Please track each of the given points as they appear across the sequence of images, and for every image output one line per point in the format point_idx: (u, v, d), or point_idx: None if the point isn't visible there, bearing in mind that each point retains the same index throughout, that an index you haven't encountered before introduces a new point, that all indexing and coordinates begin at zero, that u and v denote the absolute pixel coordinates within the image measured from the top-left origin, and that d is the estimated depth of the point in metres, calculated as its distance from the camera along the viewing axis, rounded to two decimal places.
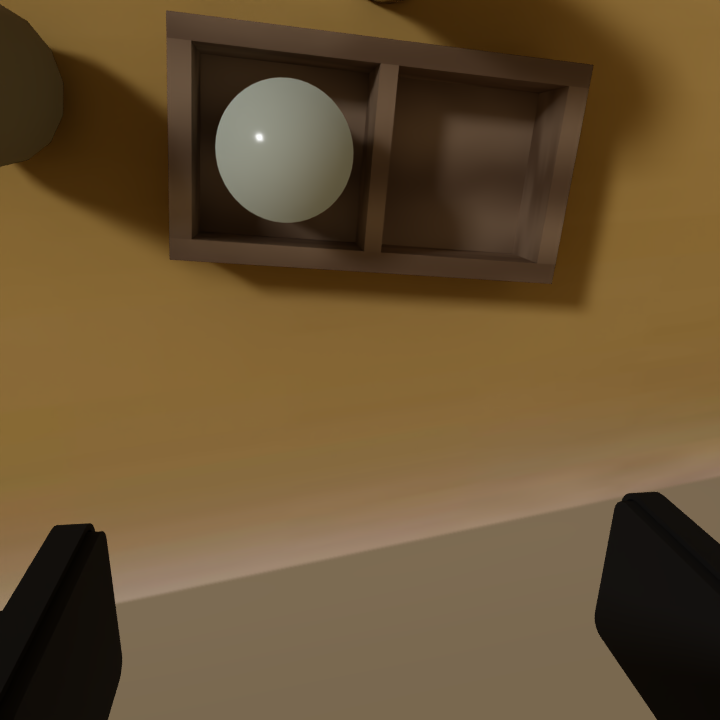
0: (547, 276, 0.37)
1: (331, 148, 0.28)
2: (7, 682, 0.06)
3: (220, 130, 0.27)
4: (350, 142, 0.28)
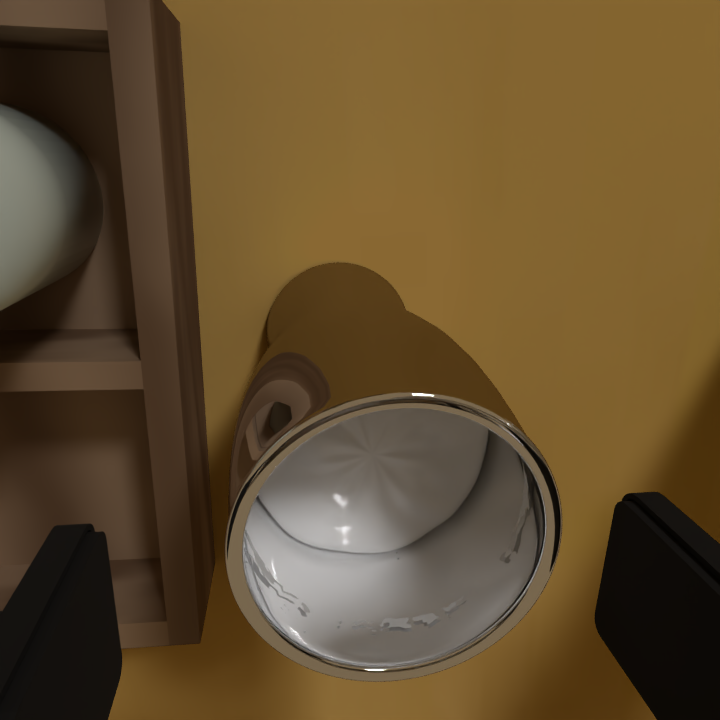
0: None
1: None
2: (7, 682, 0.06)
3: None
4: None
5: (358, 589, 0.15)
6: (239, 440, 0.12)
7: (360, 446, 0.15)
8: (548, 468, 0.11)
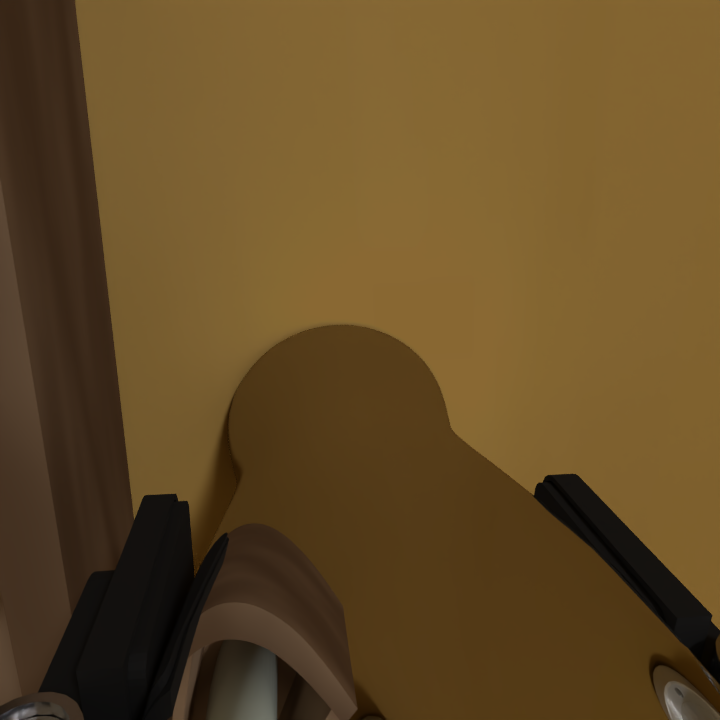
0: None
1: None
2: (135, 620, 0.07)
3: None
4: None
5: None
6: None
7: None
8: None
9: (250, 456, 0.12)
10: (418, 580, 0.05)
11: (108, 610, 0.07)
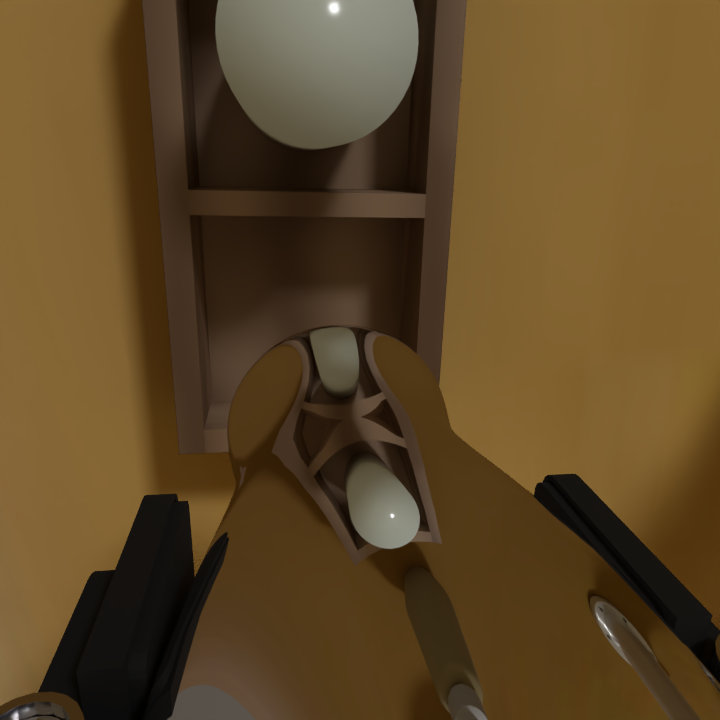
0: (188, 446, 0.28)
1: (330, 112, 0.19)
2: (135, 621, 0.07)
3: None
4: (341, 141, 0.20)
5: None
6: None
7: None
8: None
9: (250, 456, 0.12)
10: (419, 581, 0.05)
11: (108, 610, 0.07)
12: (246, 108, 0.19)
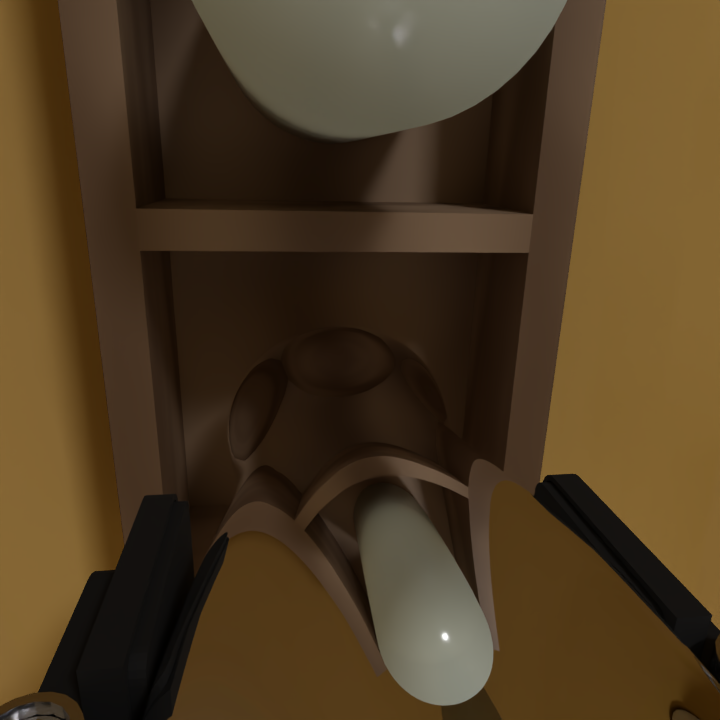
0: None
1: (403, 57, 0.09)
2: (136, 620, 0.07)
3: None
4: (422, 119, 0.10)
5: None
6: None
7: None
8: None
9: (249, 457, 0.12)
10: (419, 582, 0.05)
11: (108, 610, 0.07)
12: (227, 46, 0.09)
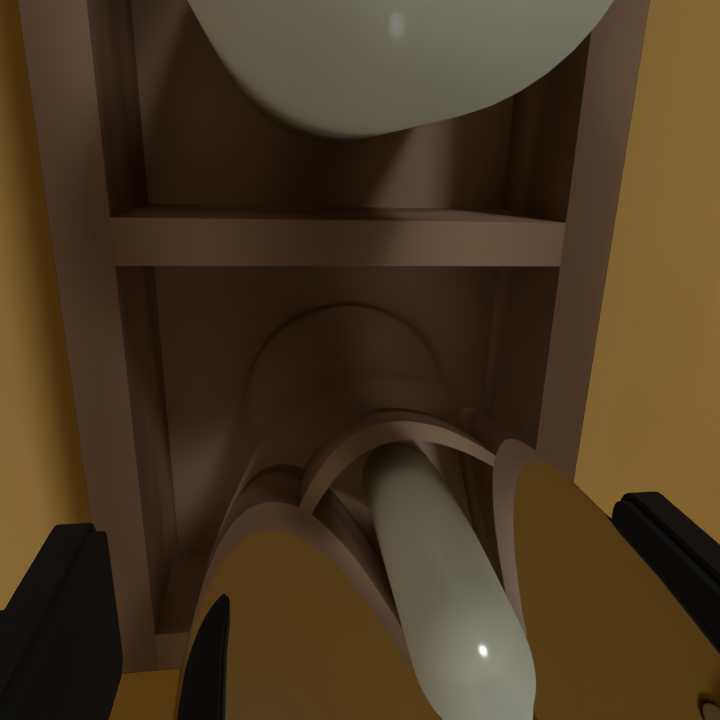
0: (129, 662, 0.16)
1: (432, 30, 0.07)
2: (8, 680, 0.07)
3: None
4: (454, 108, 0.08)
5: None
6: None
7: None
8: None
9: (271, 413, 0.14)
10: (415, 468, 0.07)
11: None
12: (208, 14, 0.07)
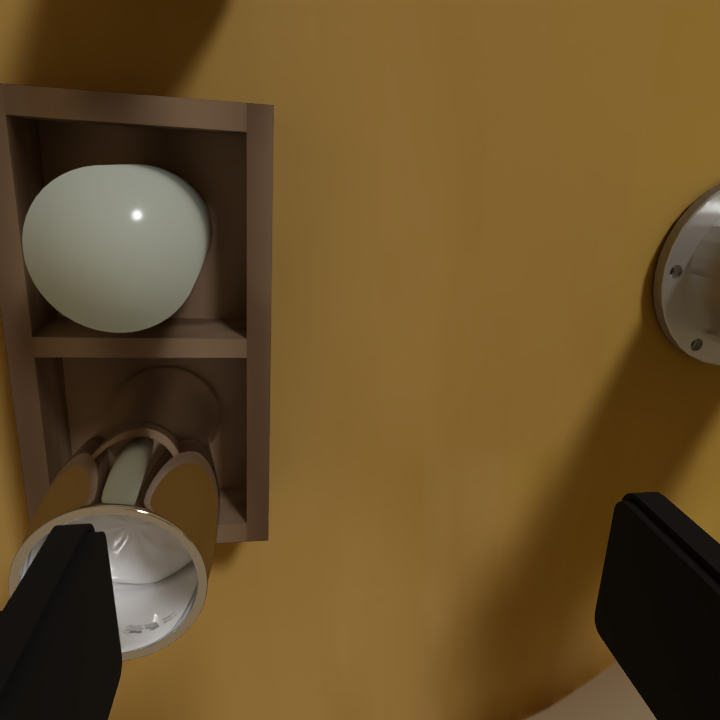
0: None
1: (127, 306, 0.23)
2: (7, 682, 0.06)
3: (127, 172, 0.22)
4: (137, 328, 0.24)
5: (120, 608, 0.24)
6: None
7: (123, 519, 0.24)
8: (192, 542, 0.20)
9: None
10: (117, 443, 0.23)
11: None
12: (53, 304, 0.23)
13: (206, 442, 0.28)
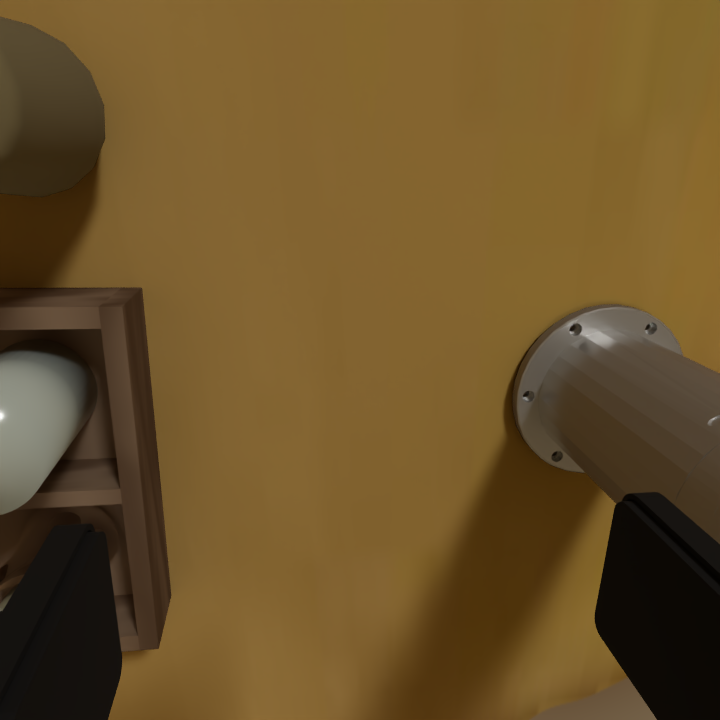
0: None
1: None
2: (7, 682, 0.06)
3: None
4: (0, 512, 0.29)
5: None
6: None
7: None
8: None
9: None
10: None
11: None
12: None
13: None
